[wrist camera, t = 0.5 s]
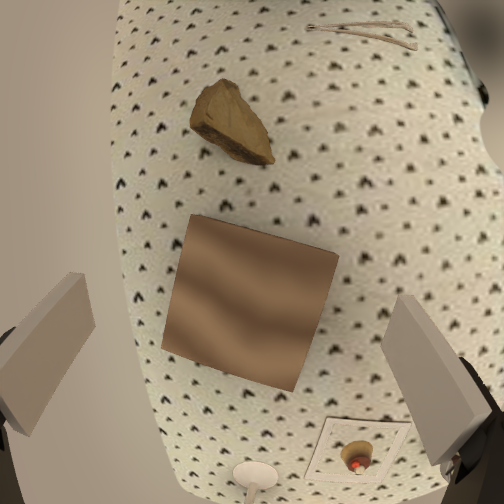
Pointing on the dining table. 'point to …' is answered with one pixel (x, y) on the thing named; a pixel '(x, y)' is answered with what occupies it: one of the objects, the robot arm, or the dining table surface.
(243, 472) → the champagne flute
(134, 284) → the dining table surface
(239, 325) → the plinth
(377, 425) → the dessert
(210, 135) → the rock
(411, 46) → the tweezers
